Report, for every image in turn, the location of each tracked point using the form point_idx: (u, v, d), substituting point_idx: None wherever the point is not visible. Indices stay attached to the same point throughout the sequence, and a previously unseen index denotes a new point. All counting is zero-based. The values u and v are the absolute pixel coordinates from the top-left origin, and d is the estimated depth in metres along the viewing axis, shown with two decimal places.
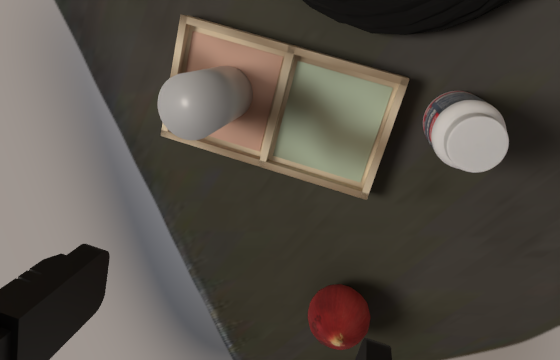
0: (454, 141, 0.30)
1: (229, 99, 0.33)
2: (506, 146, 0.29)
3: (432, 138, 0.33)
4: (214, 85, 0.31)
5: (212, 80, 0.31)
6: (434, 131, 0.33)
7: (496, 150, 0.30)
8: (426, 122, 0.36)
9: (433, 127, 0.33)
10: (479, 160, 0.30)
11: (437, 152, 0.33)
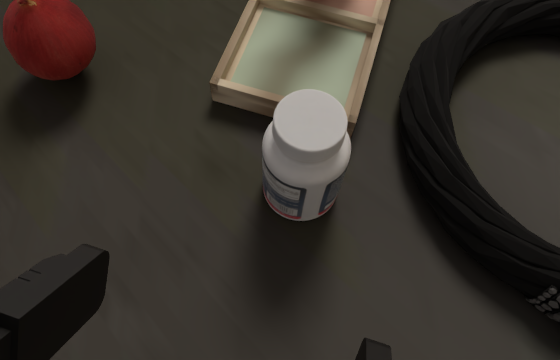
0: (314, 95, 0.24)
1: None
2: (309, 148, 0.22)
3: None
4: None
5: None
6: None
7: (304, 138, 0.23)
8: None
9: None
10: (290, 121, 0.23)
11: None
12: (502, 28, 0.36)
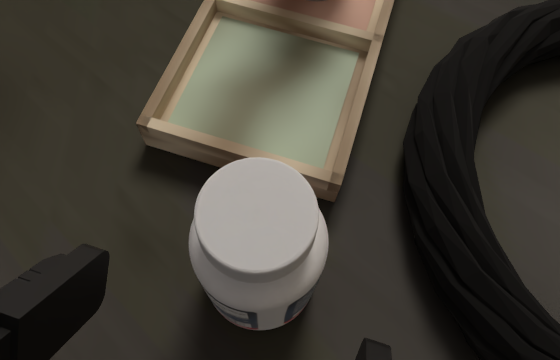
0: (266, 168, 0.14)
1: None
2: (251, 268, 0.13)
3: None
4: None
5: None
6: None
7: (243, 248, 0.13)
8: None
9: None
10: (221, 217, 0.14)
11: None
12: (543, 47, 0.26)
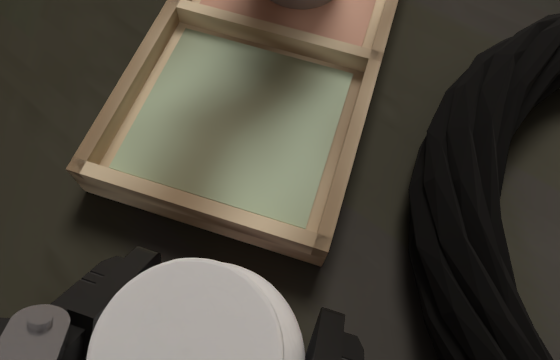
0: (204, 277, 0.09)
1: None
2: None
3: None
4: None
5: None
6: None
7: None
8: None
9: (234, 265, 0.12)
10: None
11: None
12: None
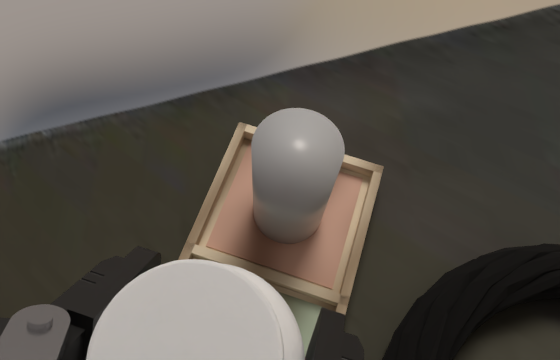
0: (204, 279, 0.09)
1: (299, 204, 0.23)
2: None
3: None
4: (325, 185, 0.22)
5: (330, 184, 0.23)
6: (225, 265, 0.12)
7: None
8: None
9: (234, 266, 0.12)
10: None
11: None
12: (500, 307, 0.28)
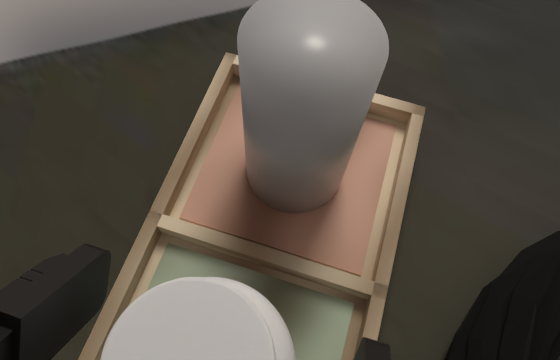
0: (204, 295, 0.10)
1: (316, 137, 0.15)
2: None
3: (204, 277, 0.13)
4: (360, 98, 0.13)
5: (366, 101, 0.14)
6: (223, 279, 0.13)
7: None
8: None
9: (231, 279, 0.14)
10: None
11: None
12: None
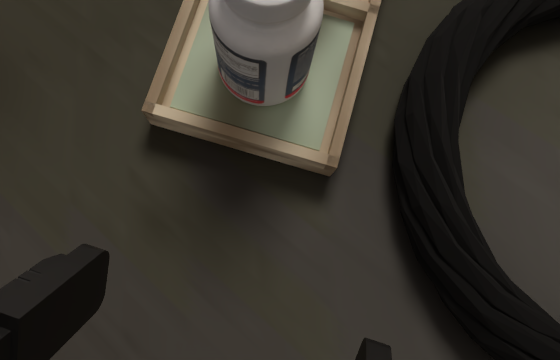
0: None
1: None
2: (266, 1, 0.17)
3: None
4: None
5: None
6: None
7: None
8: None
9: None
10: None
11: None
12: (533, 15, 0.27)
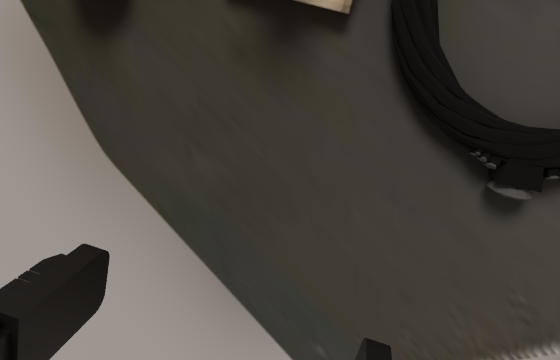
0: None
1: None
2: None
3: None
4: None
5: None
6: None
7: None
8: None
9: None
10: None
11: None
12: None
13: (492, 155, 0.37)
